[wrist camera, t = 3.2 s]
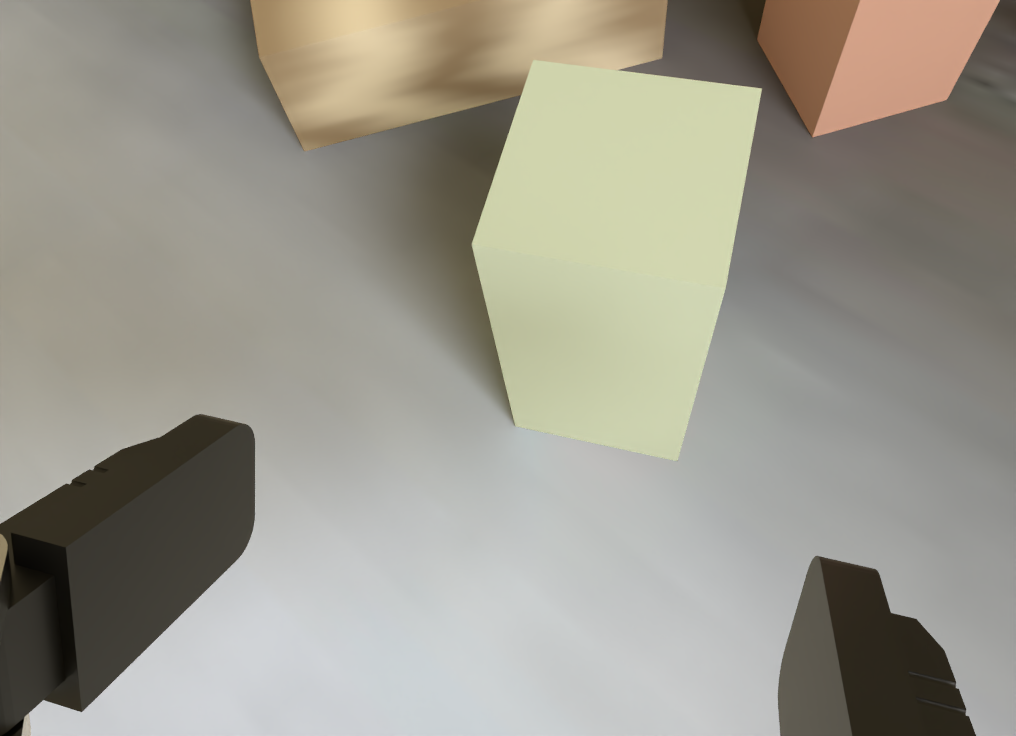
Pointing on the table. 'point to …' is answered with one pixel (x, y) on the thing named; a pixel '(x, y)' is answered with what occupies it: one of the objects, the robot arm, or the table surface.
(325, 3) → the birch plinth block
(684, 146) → the sage-green block
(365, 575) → the table surface
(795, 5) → the clay-red block
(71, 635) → the robot arm
